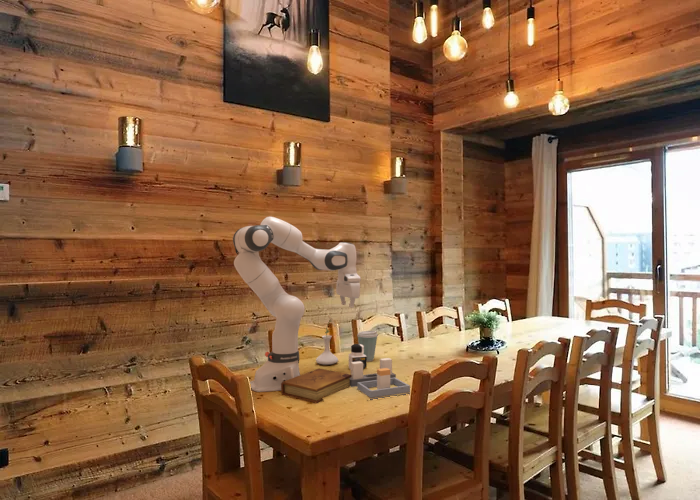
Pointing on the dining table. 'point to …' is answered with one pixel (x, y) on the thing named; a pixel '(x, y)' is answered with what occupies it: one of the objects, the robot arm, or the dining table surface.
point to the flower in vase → (327, 349)
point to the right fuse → (386, 364)
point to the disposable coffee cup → (368, 343)
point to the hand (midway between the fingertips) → (347, 306)
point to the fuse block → (367, 379)
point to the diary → (315, 385)
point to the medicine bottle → (357, 355)
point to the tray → (383, 392)
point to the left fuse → (357, 370)
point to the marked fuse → (383, 378)
